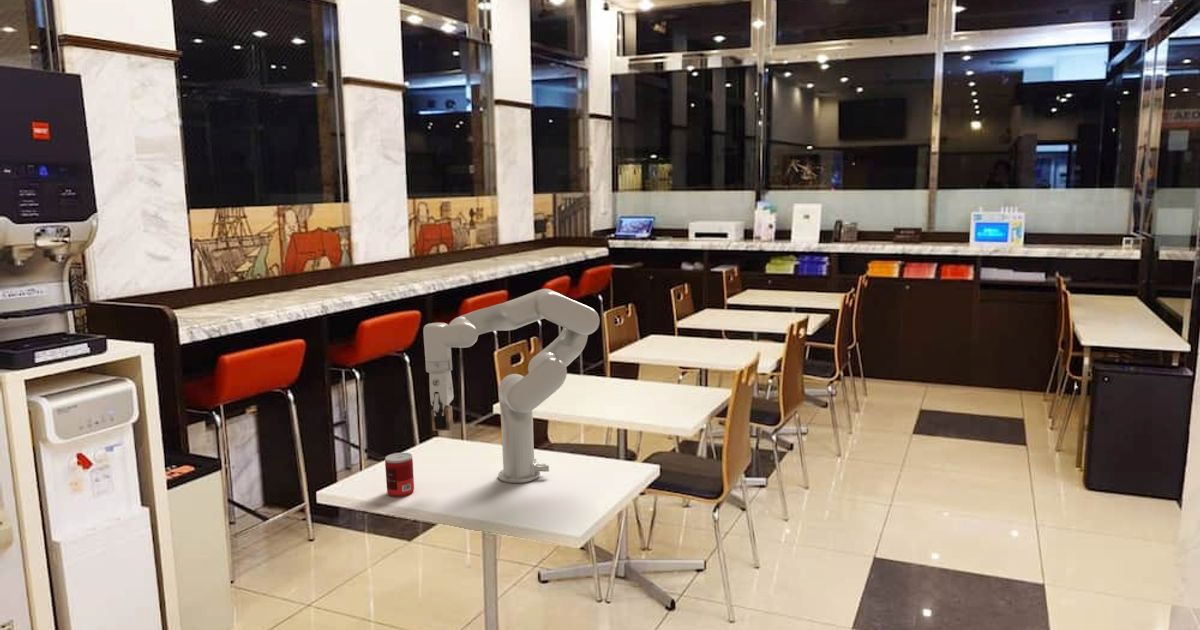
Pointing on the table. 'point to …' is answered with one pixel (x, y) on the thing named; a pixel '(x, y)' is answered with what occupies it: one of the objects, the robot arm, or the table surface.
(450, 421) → the walnut block
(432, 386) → the robot arm
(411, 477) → the canned food
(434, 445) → the table surface
